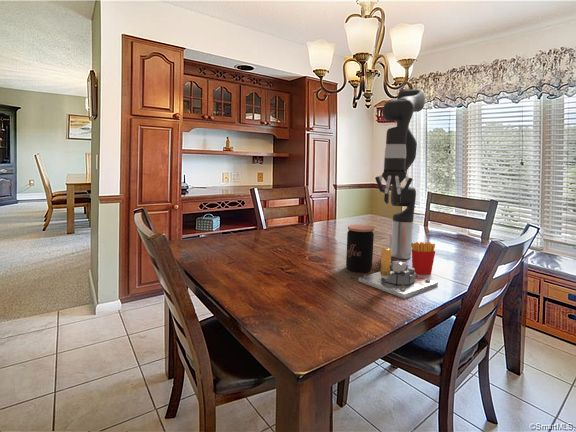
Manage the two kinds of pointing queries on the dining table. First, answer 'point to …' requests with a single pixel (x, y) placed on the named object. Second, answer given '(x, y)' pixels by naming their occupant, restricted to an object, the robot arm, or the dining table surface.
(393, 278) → the spiky gray ring
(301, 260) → the dining table surface
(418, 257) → the french fries
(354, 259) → the coffee jar
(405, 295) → the flange plate
